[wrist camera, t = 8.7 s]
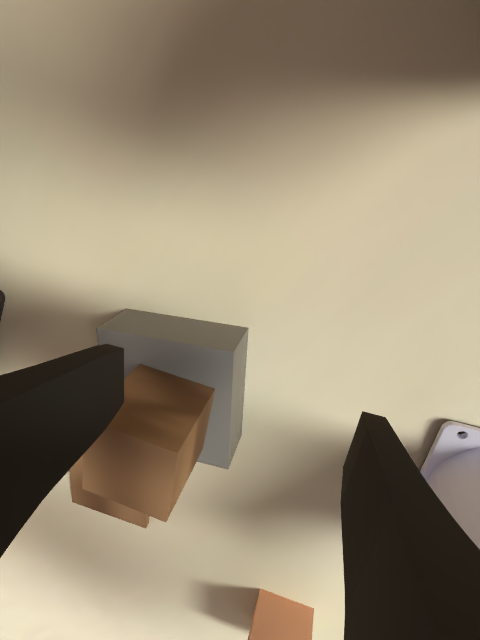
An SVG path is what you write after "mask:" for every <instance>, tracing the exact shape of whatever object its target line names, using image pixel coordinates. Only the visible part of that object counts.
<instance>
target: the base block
mask: <svg viewBox="0 0 480 640" xmlns="http://www.w3.org/2000/svg"><path fill="white" fill-rule="evenodd" d="M96 329H97V338H98V345H103V344H110V345H114V346H117V347H121V348H124V379H125V378H126V377H127V376H128V375H129V374H130V373H131V372H132V371H133V370H134V369H135V368H136V367H137V366H139V365H140V364H143V365H146V366H149V367H152V368H155V369H158V370H161V371H164V372H167V373H170V374H173V375H176V376H179V377H182V378H185V379H188V380H191V381H194V382H197V383H200V384H203V385H206V386H209V387H212V388H215V392H214V397H213V402H212V407H211V412H210V416H209V421H208V426H207V431H206V436H205V440H204V445H203V450H202V452H201V454H200V456H199V458H198V460H197V462H201V463H205V464H209V465H213V466H217V467H221V468H225V469H228V468H229V466H230V463H231V461H232V458H233V455H234V453H235V450H236V448H237V445H238V442H239V440H240V437H241V432H242V417H243V402H244V387H245V372H246V356H247V341H248V328H246V327H240V326H233V325H227V324H220V323H214V322H208V321H201V320H195V319H189V318H182V317H176V316H169V315H163V314H157V313H150V312H144V311H138V310H131V309H125V310H123V311H122V312H120V313H119V314H117V315H116V316H114V317H113V318H111V319H110V320H108V321H107V322H105V323H103V324H102V325H100V326H99V327H97V328H96Z"/></svg>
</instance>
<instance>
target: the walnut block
mask: <svg viewBox="0 0 480 640" xmlns="http://www.w3.org/2000/svg"><path fill="white" fill-rule="evenodd" d="M214 392H215V388H212V387H209V386H206V385H203V384H200V383H197V382H194V381H191V380H188V379H185V378H182V377H179V376H176V375H173V374H170V373H167V372H164V371H161V370H158V369H155V368H152V367H149V366H146V365H143V364H140V365H139V366H137V367H136V368H135V369H134V370H133V371H132V372H131V373H130V374H129V375H128V376H127V377H126V378H125V379H124V403H123V405H122V406H121V408H120V409H119V411H118V412H117V414H116V415H115V417H114V418H113V420H112V421H111V422H110V424H109V425H108V427H107V428H106V429H105V430H104V432H103V433H102V434H101V435H100V436H99V437H98V438H97V440H96V441H95V442H94V443H93V444H92V445H91V446H90V447H89V449H88V450H87V451H86V452H85V453H84V454H83V479H82V489H84V490H87V491H89V492H92V493H94V494H97V495H99V496H102V497H104V498H107V499H109V500H112V501H114V502H117V503H119V504H122V505H124V506H127V507H129V508H132V509H134V510H137V511H139V512H142V513H144V514H147V515H149V516H152V517H154V518H157V519H159V520H162V521H164V522H166V521H167V519H168V517H169V515H170V513H171V511H172V509H173V507H174V505H175V503H176V501H177V499H178V497H179V495H180V493H181V491H182V489H183V487H184V486H185V484H186V482H187V480H188V478H189V476H190V474H191V472H192V470H193V468H194V466H195V464H196V462H197V460H198V458H199V456H200V454H201V452H202V450H203V445H204V440H205V436H206V431H207V426H208V421H209V416H210V412H211V407H212V402H213V397H214Z"/></svg>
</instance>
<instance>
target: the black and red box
mask: <svg viewBox="0 0 480 640" xmlns="http://www.w3.org/2000/svg"><path fill="white" fill-rule="evenodd" d="M4 302H5V295H4V293H3V292H2V291H1V290H0V320H1V316H2V311H3V307H4Z"/></svg>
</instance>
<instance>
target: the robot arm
mask: <svg viewBox="0 0 480 640" xmlns="http://www.w3.org/2000/svg"><path fill="white" fill-rule="evenodd" d="M123 403H124V348H121V347H117V346H114V345H110V344H103V345H98V346H95V347H91V348H88V349H85V350H81V351H78V352H75V353H72V354H69V355H66V356H63V357H60V358H57V359H54V360H51V361H47V362H44V363H41V364H38V365H35V366H31V367H28V368H25V369H21V370H18V371H14V372H11V373H7V374H4V375H0V558H1V556H2V555H3V553H4V552H5V551H6V549H7V548H8V546H9V545H10V543H11V542H12V541H13V539H14V538H15V536H16V535H17V534H18V532H19V531H20V530H21V528H22V527H23V526H24V524H25V523H26V522H27V520H28V519H29V518H30V516H31V515H32V514H33V512H34V511H35V510H36V508H37V507H38V506H39V504H40V503H41V502H42V500H43V499H44V498H45V497H46V496H47V494H48V493H49V492H50V491H51V490H52V488H53V487H54V486H55V485H56V484H57V483H58V482H59V481H60V479H61V478H62V477H63V476H64V475H65V474H66V473H67V472H68V471H69V470H70V468H71V467H72V466H73V465H74V464H75V463H76V462H77V461H78V460H79V459H80V457H81V456H82V455H83V454H84V453H85V452H86V451H87V450H88V449H89V447H90V446H91V445H92V444H93V443H94V442H95V441H96V440H97V438H98V437H99V436H100V435H101V434H102V433H103V432H104V430H105V429H106V428H107V427H108V425H109V424H110V422H111V421H112V420H113V418H114V417H115V415H116V414H117V412H118V411H119V409H120V408H121V406H122V405H123ZM460 431H465V433H464V434H457V433H458V432H460ZM341 519H342V541H343V562H344V582H345V627H344V640H480V428H478V427H474V426H470V425H466V424H462V423H458V422H455V421H448V422H445V423H443V424H442V426H441V428H440V430H439V432H438V434H437V436H436V438H435V441H434V443H433V445H432V447H431V449H430V451H429V453H428V455H427V458H426V460H425V462H424V464H423V466H422V468H421V470H420V471H419V470H418V468H417V467H416V465H415V464H414V462H413V460H412V459H411V457H410V456H409V454H408V453H407V451H406V449H405V448H404V446H403V445H402V443H401V441H400V440H399V438H398V437H397V435H396V433H395V432H394V430H393V428H392V427H391V425H390V424H389V422H388V420H387V419H386V417H382V416H378V415H374V414H371V413H367V412H363V411H362V414H361V417H360V420H359V423H358V426H357V429H356V431H355V434H354V437H353V440H352V443H351V446H350V449H349V452H348V455H347V458H346V461H345V464H344V466H343V478H342V492H341Z"/></svg>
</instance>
